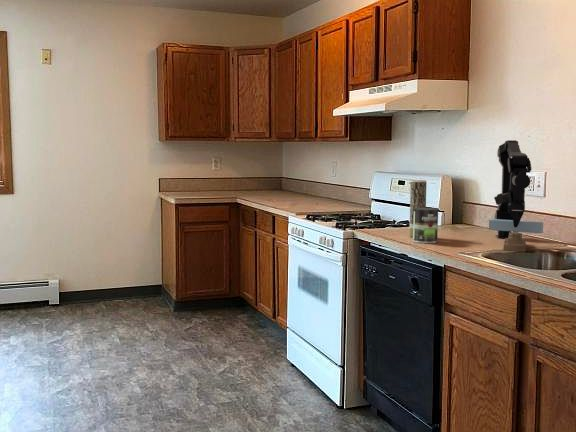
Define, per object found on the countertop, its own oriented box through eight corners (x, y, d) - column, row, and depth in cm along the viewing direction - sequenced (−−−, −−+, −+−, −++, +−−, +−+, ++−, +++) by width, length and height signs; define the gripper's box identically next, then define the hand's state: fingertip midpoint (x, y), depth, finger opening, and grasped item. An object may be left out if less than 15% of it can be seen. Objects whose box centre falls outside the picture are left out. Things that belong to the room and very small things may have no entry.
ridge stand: (504, 243, 262) (505, 227, 262) (525, 244, 260) (526, 228, 259) (503, 250, 246) (504, 233, 245) (525, 251, 243) (526, 234, 242)
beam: (490, 228, 259) (491, 218, 258) (542, 232, 248) (543, 222, 248) (488, 229, 256) (489, 219, 255) (541, 233, 245) (541, 223, 245)
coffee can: (441, 243, 263) (442, 209, 261) (418, 243, 261) (419, 210, 259) (431, 239, 273) (432, 206, 271) (408, 240, 271) (409, 207, 269)
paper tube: (422, 235, 282) (424, 179, 279) (426, 238, 275) (428, 180, 272) (407, 235, 282) (409, 179, 279) (411, 238, 275) (412, 181, 272)
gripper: (496, 184, 261) (495, 222, 263) (494, 188, 244) (493, 228, 246) (525, 185, 257) (523, 223, 259) (525, 188, 240) (523, 229, 242)
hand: (515, 225), depth 252 cm, fingers open, 9 cm apart
